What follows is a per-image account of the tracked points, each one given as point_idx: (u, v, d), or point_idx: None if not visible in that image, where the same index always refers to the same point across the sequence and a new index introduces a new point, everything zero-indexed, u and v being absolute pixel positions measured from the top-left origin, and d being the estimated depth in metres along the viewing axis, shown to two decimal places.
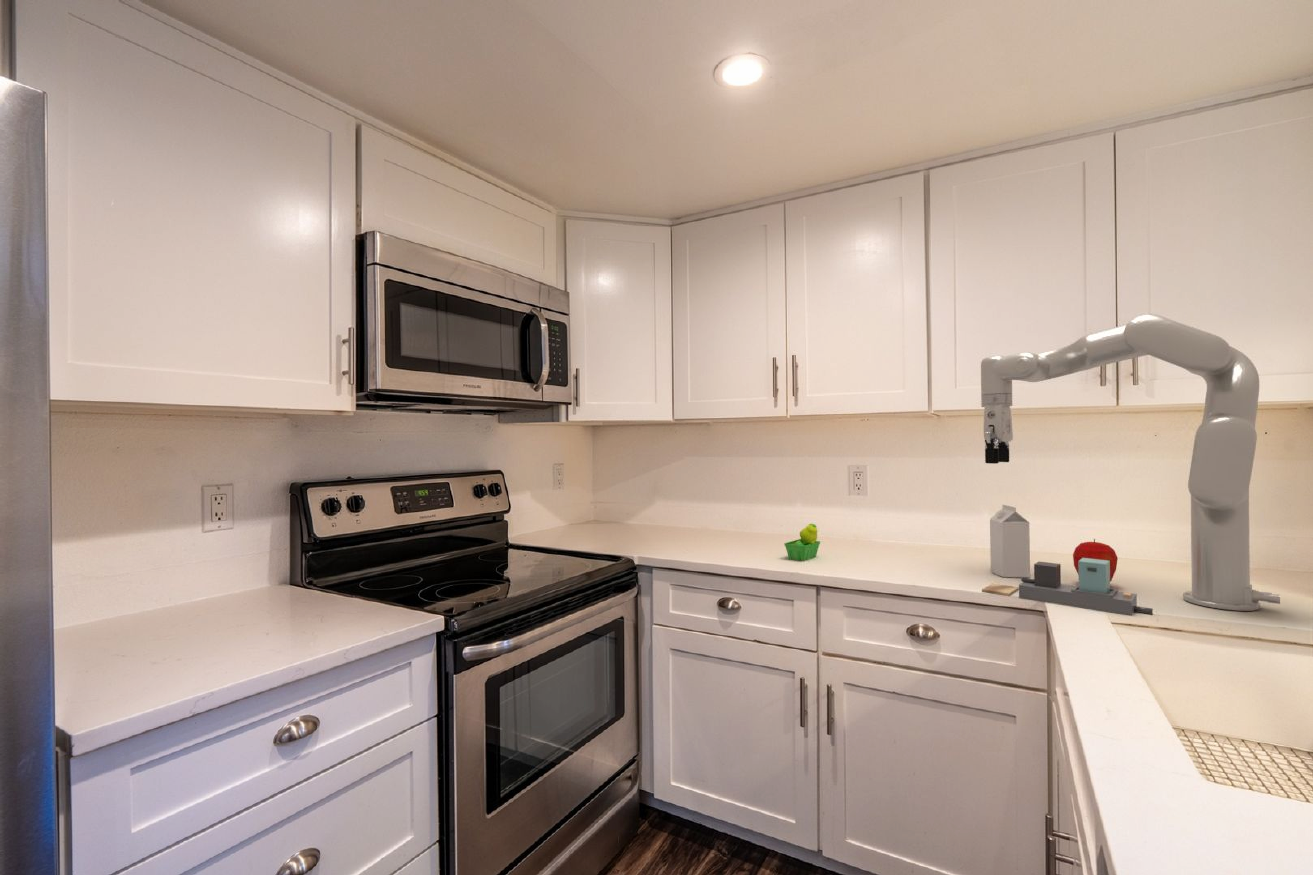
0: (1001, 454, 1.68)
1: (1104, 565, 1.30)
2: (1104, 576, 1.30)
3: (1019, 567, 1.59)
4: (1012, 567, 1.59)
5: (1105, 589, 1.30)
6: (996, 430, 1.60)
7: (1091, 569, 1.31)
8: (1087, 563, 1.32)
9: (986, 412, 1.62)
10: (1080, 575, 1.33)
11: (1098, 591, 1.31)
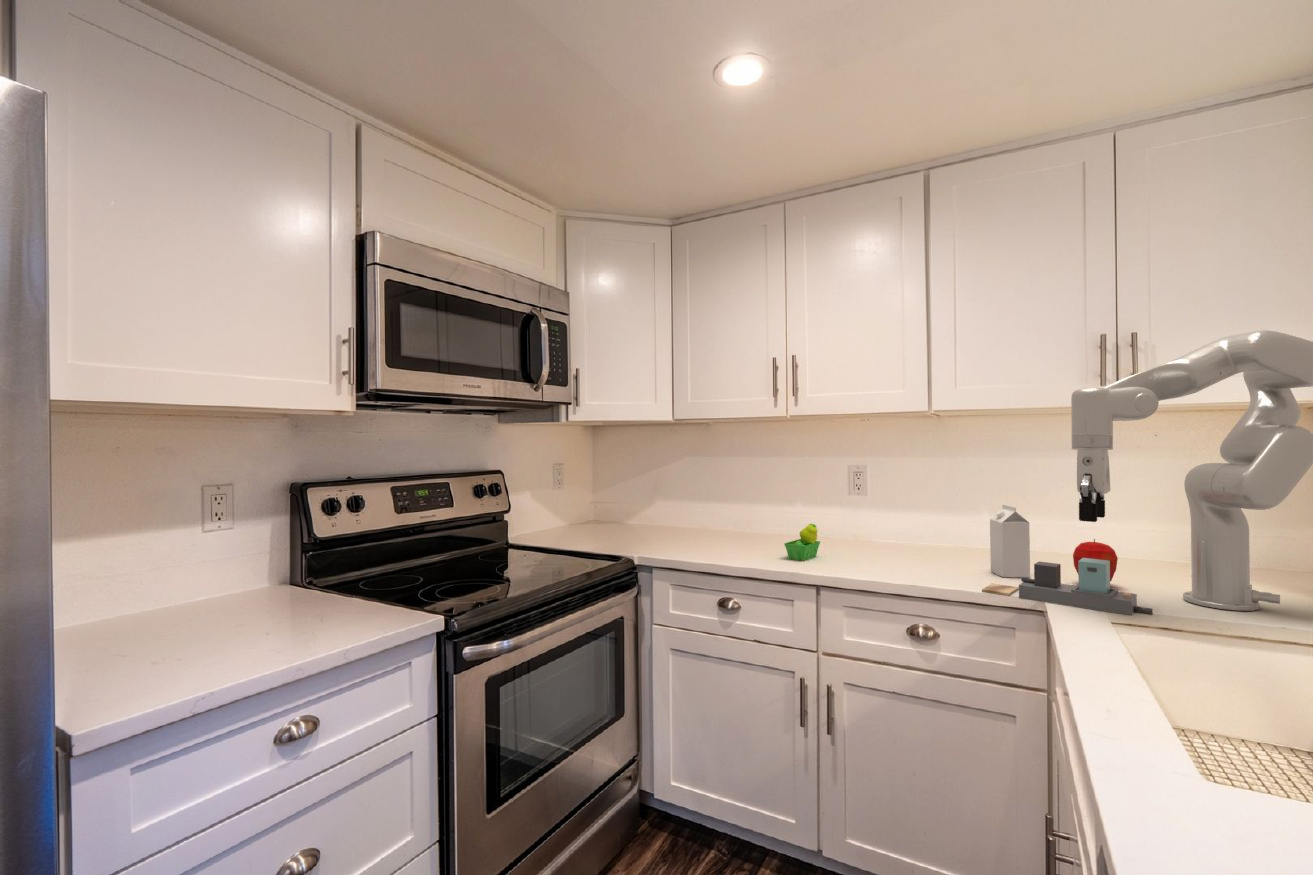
0: None
1: (1104, 565, 1.30)
2: (1104, 576, 1.30)
3: (1019, 567, 1.59)
4: (1012, 567, 1.59)
5: (1105, 589, 1.30)
6: (1094, 481, 1.29)
7: (1091, 569, 1.31)
8: (1087, 563, 1.32)
9: (1080, 457, 1.31)
10: (1080, 575, 1.33)
11: (1098, 591, 1.31)
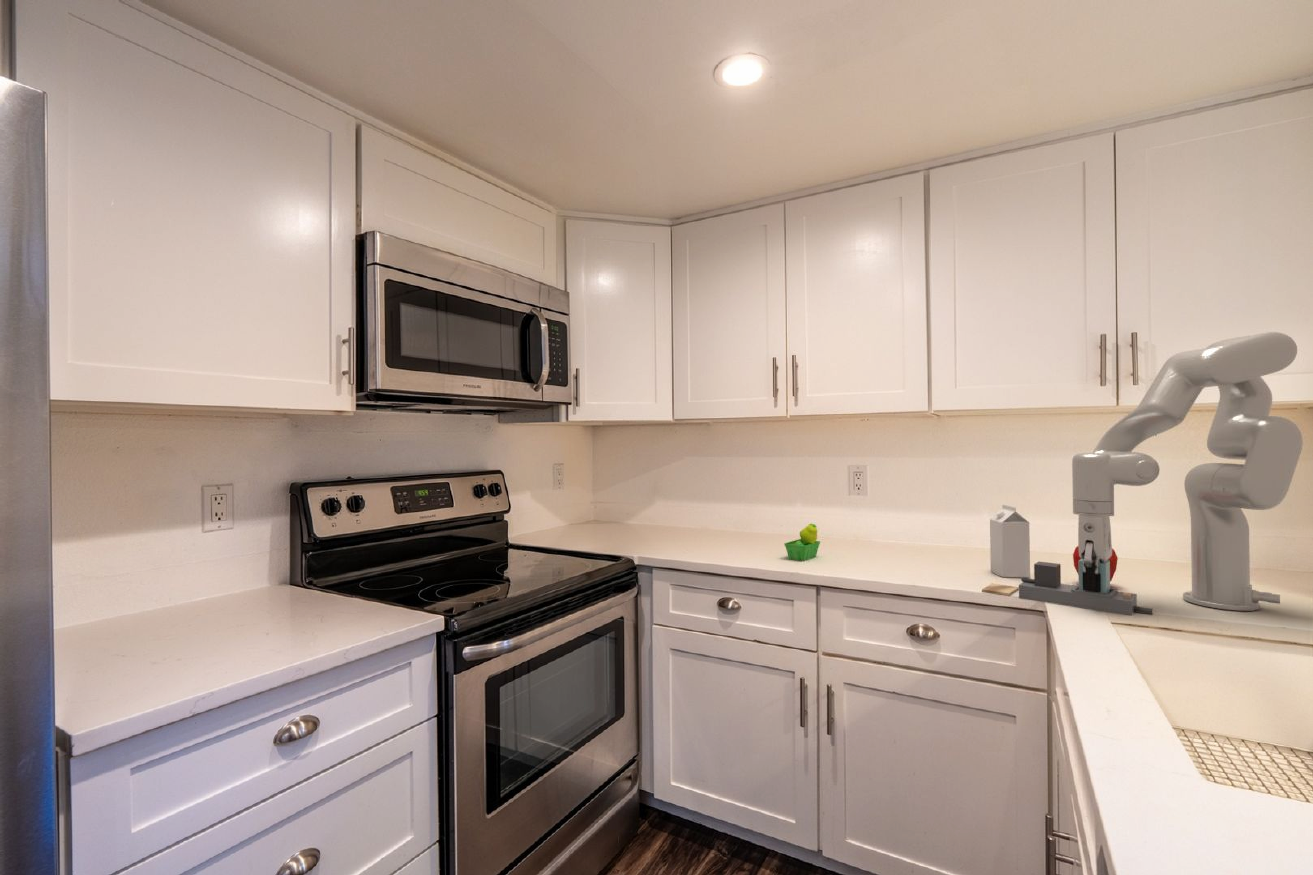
0: None
1: (1104, 565, 1.30)
2: (1104, 576, 1.30)
3: (1019, 567, 1.59)
4: (1012, 567, 1.59)
5: (1105, 589, 1.30)
6: (1096, 548, 1.29)
7: None
8: None
9: (1082, 523, 1.31)
10: (1081, 575, 1.33)
11: None
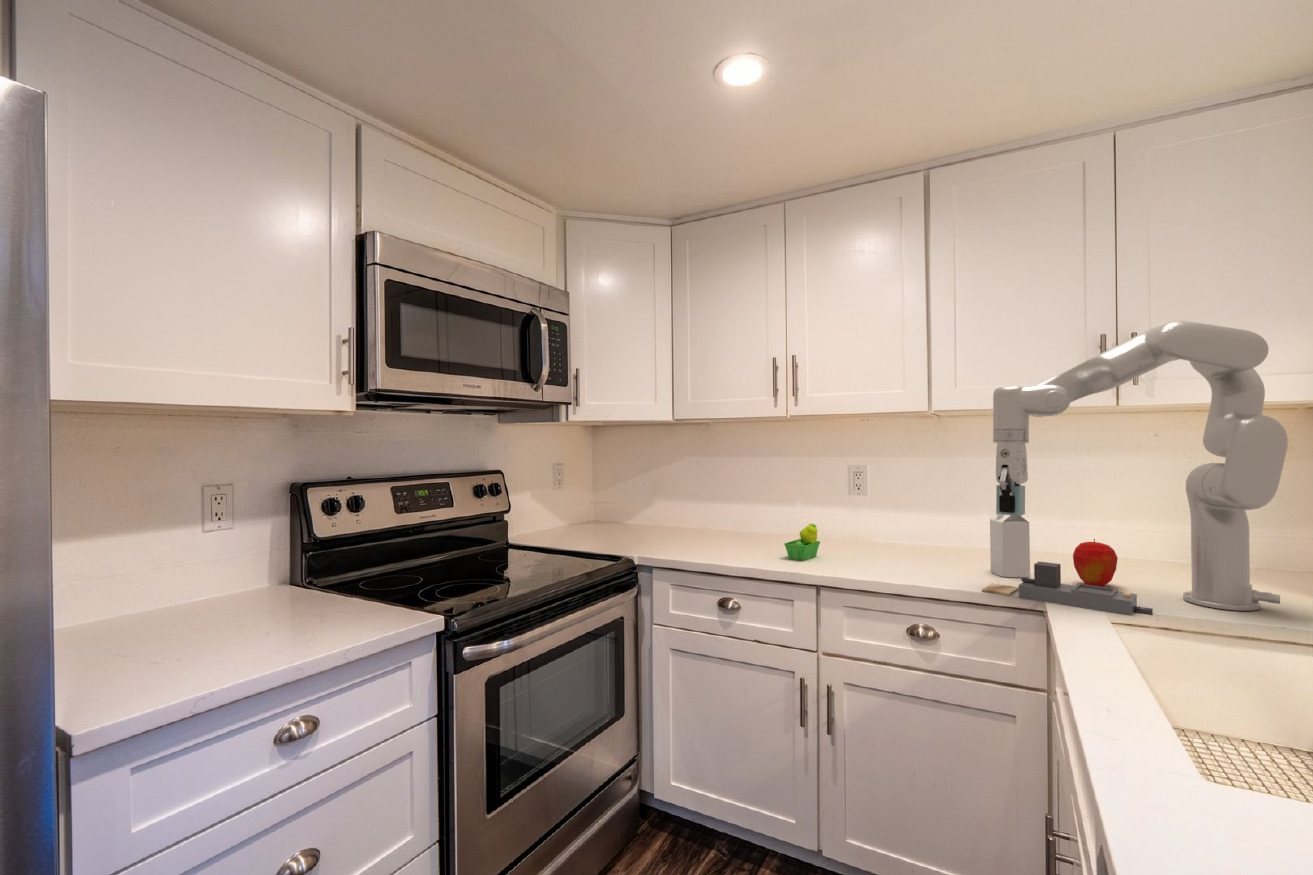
0: None
1: (1018, 487, 1.41)
2: (1018, 497, 1.41)
3: (1019, 567, 1.59)
4: (1012, 567, 1.59)
5: (1019, 509, 1.41)
6: (1010, 471, 1.40)
7: None
8: None
9: (999, 450, 1.42)
10: (998, 498, 1.44)
11: None
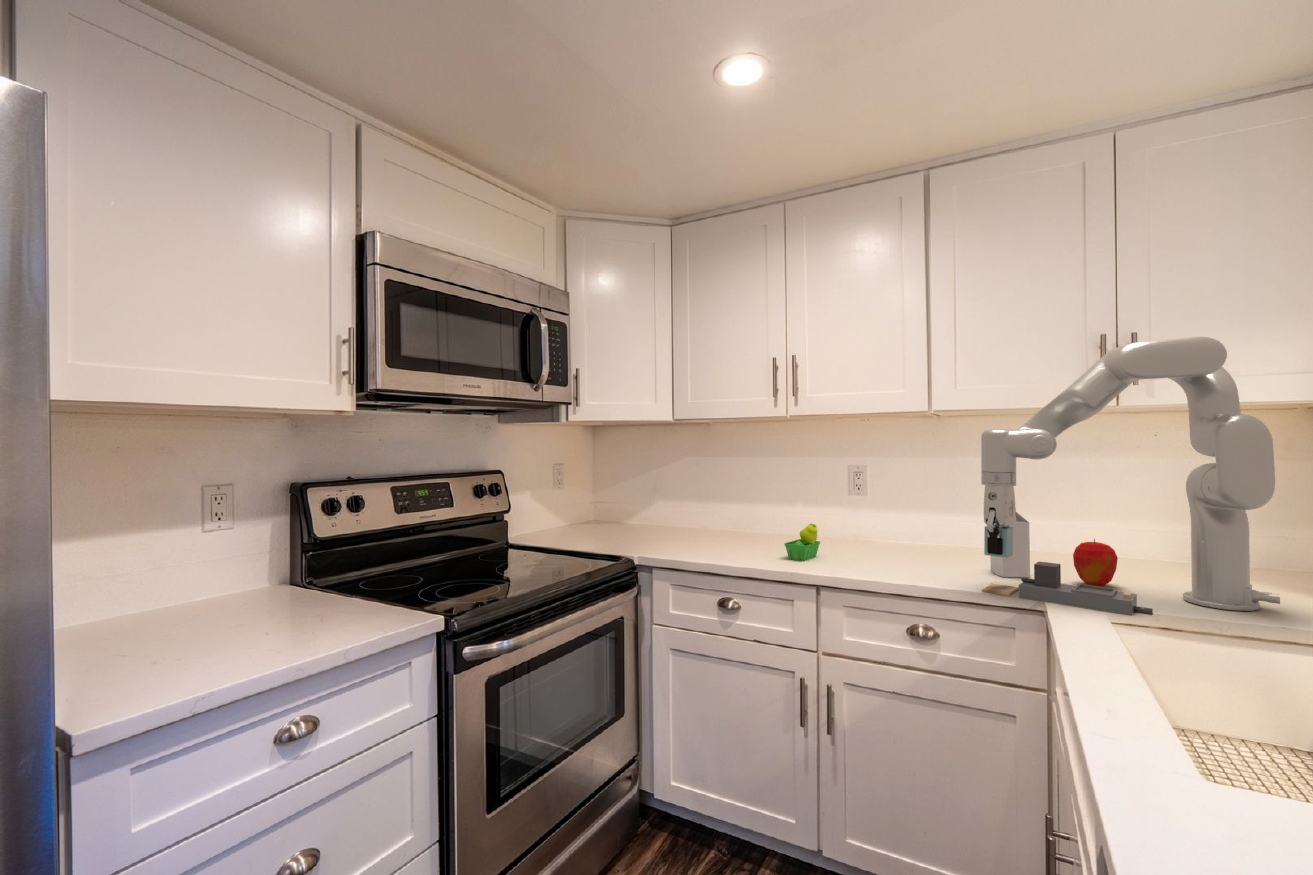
0: None
1: (1005, 529, 1.43)
2: (1005, 539, 1.43)
3: (1019, 567, 1.59)
4: (1012, 567, 1.59)
5: (1006, 551, 1.43)
6: (998, 514, 1.42)
7: None
8: None
9: (987, 492, 1.44)
10: (986, 539, 1.46)
11: None
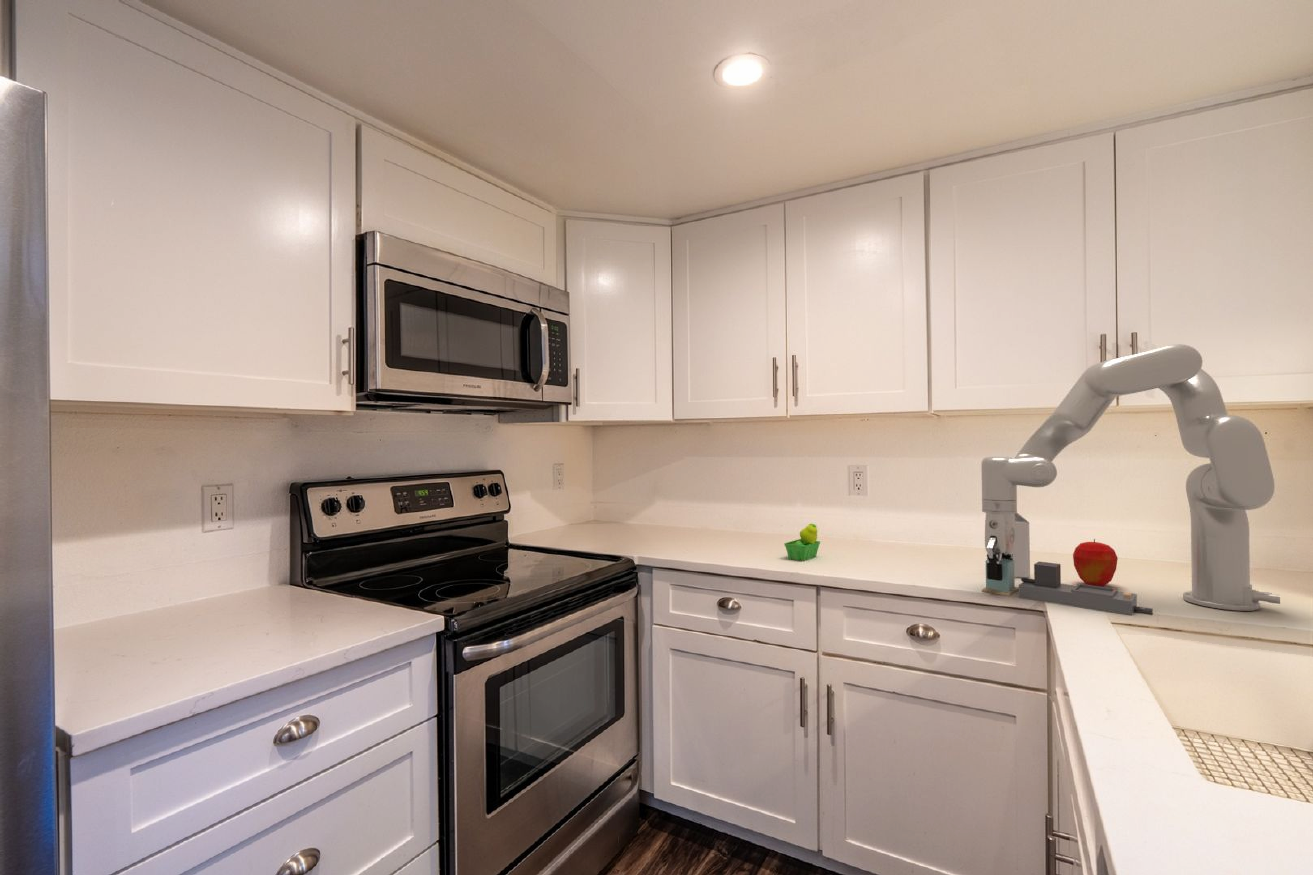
0: None
1: (1007, 564, 1.43)
2: (1007, 574, 1.43)
3: (1019, 567, 1.59)
4: None
5: (1007, 586, 1.43)
6: (999, 542, 1.42)
7: None
8: None
9: (988, 520, 1.44)
10: None
11: (1002, 588, 1.44)
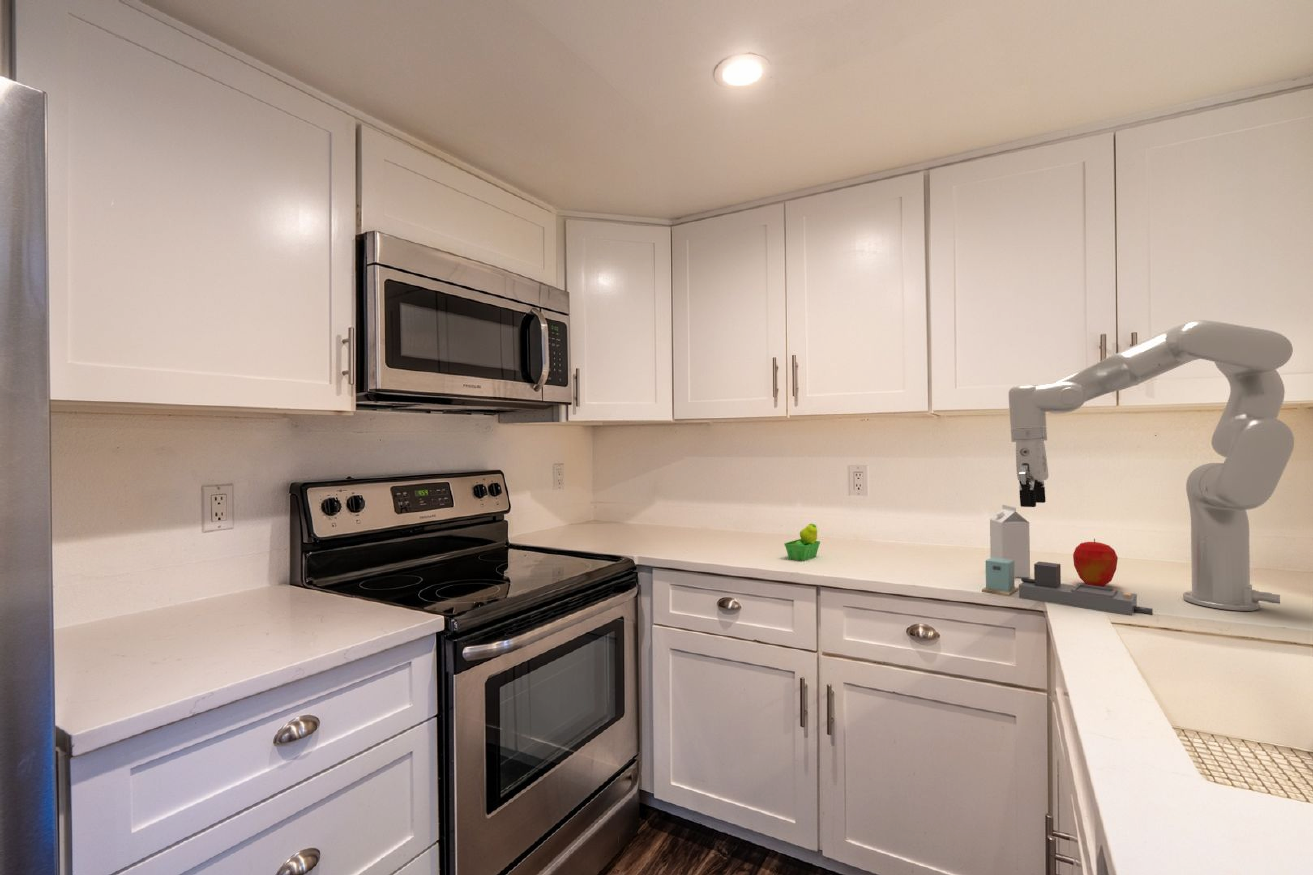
0: (1036, 494, 1.49)
1: (1007, 564, 1.43)
2: (1007, 574, 1.43)
3: (1019, 567, 1.59)
4: None
5: (1007, 586, 1.43)
6: (1031, 469, 1.41)
7: (996, 568, 1.44)
8: (993, 562, 1.45)
9: (1018, 449, 1.44)
10: (987, 573, 1.46)
11: (1002, 588, 1.44)
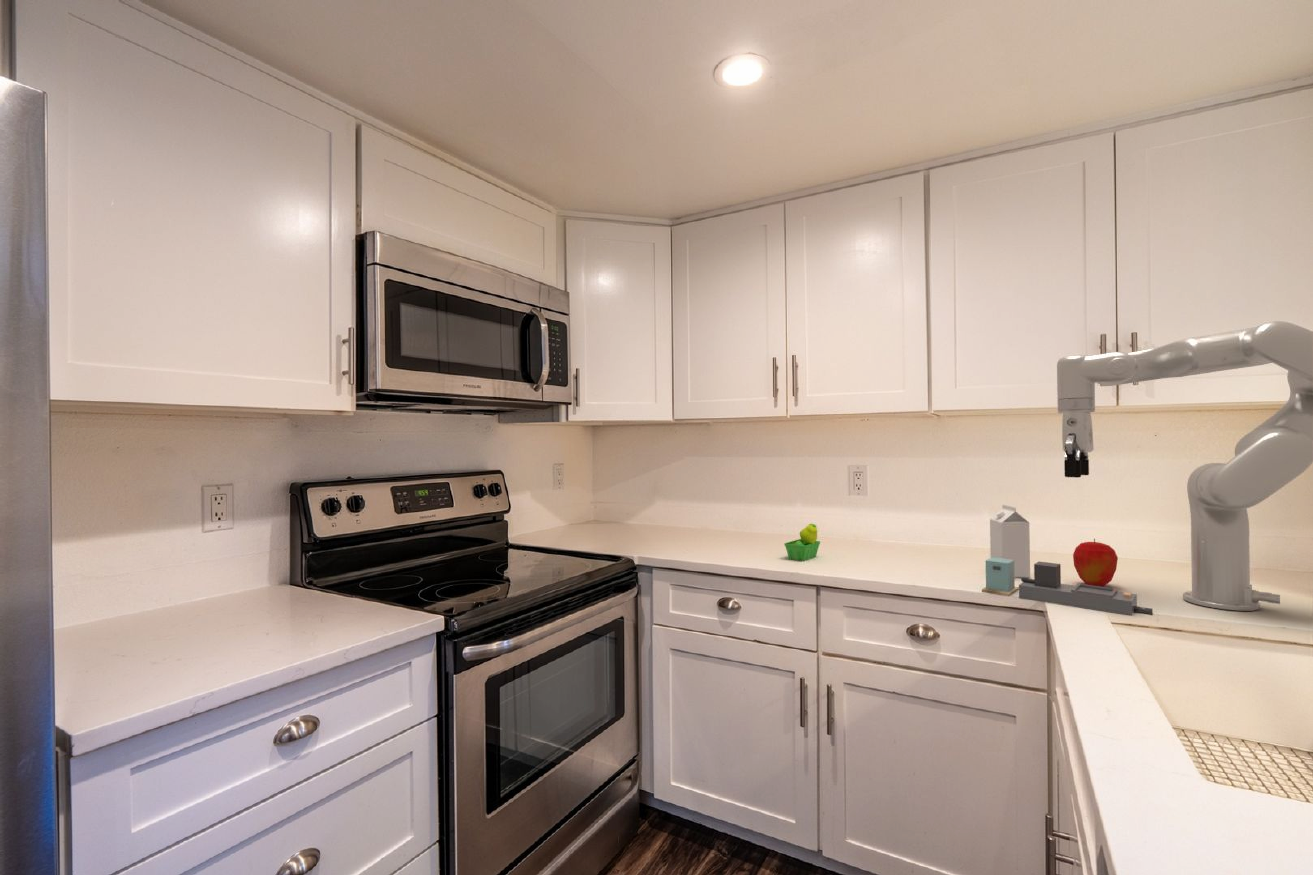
0: None
1: (1007, 564, 1.43)
2: (1007, 574, 1.43)
3: (1019, 567, 1.59)
4: None
5: (1007, 586, 1.43)
6: (1078, 440, 1.41)
7: (996, 568, 1.44)
8: (993, 562, 1.45)
9: (1065, 419, 1.43)
10: (987, 573, 1.46)
11: (1002, 588, 1.44)
